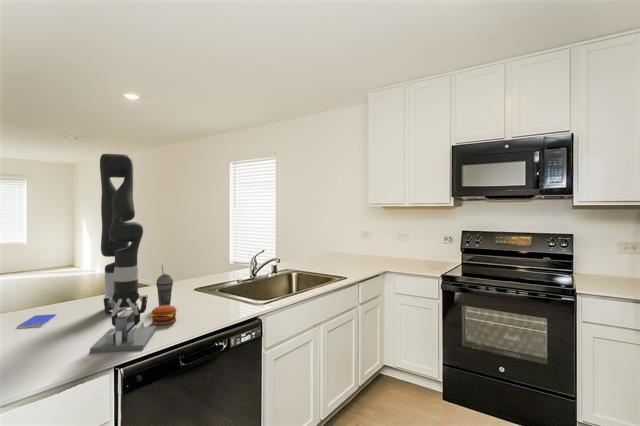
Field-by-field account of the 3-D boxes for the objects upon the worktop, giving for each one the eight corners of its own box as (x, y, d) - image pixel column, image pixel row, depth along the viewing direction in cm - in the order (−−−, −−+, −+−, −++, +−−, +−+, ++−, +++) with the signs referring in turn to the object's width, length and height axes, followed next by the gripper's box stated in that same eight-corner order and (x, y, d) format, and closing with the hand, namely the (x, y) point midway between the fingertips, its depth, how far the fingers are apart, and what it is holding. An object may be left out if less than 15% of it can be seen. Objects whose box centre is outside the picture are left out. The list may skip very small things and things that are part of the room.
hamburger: (156, 318, 146) (156, 303, 146) (179, 318, 147) (179, 302, 147) (147, 326, 137) (147, 309, 137) (172, 326, 138) (172, 309, 138)
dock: (110, 332, 130) (110, 316, 129) (156, 329, 133) (156, 314, 133) (89, 353, 112) (89, 334, 112) (143, 349, 116) (143, 331, 115)
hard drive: (42, 324, 134) (56, 314, 146) (16, 325, 132) (34, 315, 144) (42, 328, 134) (56, 317, 146) (16, 329, 132) (34, 319, 144)
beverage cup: (172, 309, 159) (173, 266, 158) (155, 310, 156) (155, 266, 155) (173, 304, 165) (173, 263, 165) (156, 306, 163) (156, 264, 162)
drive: (125, 331, 127) (125, 309, 127) (135, 330, 128) (135, 309, 128) (115, 342, 117) (115, 318, 117) (126, 341, 118) (126, 318, 118)
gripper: (150, 275, 127) (150, 320, 128) (107, 276, 124) (107, 322, 125) (145, 280, 120) (145, 327, 120) (99, 281, 117) (99, 330, 117)
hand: (126, 325), depth 122 cm, fingers open, 6 cm apart
